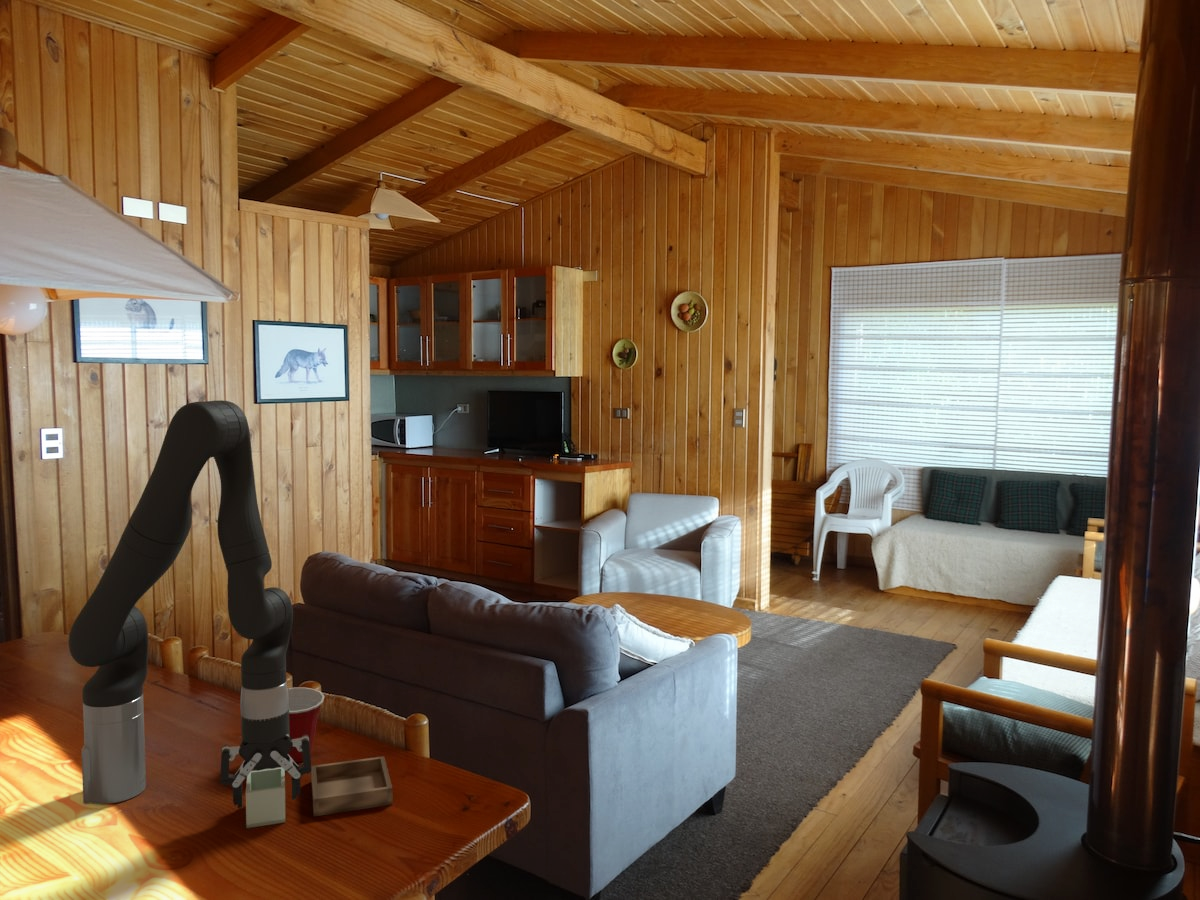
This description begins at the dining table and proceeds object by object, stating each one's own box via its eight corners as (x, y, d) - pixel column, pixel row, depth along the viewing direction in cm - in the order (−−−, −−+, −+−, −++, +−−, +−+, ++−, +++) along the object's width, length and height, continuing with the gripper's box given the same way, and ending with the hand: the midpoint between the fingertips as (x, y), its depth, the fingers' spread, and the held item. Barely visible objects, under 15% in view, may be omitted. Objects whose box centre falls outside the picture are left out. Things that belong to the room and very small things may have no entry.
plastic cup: (280, 775, 161) (279, 712, 160) (256, 756, 168) (255, 696, 167) (335, 757, 168) (334, 697, 167) (309, 740, 176) (308, 682, 175)
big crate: (313, 816, 146) (313, 799, 146) (311, 781, 158) (311, 765, 158) (392, 804, 151) (392, 787, 151) (384, 771, 163) (384, 756, 163)
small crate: (246, 828, 142) (245, 793, 142) (248, 805, 150) (247, 771, 149) (285, 822, 144) (284, 787, 144) (285, 799, 152) (284, 766, 151)
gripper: (217, 723, 139) (220, 819, 141) (310, 711, 144) (312, 805, 146) (220, 706, 146) (223, 798, 148) (309, 695, 151) (311, 785, 153)
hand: (267, 801), depth 147 cm, fingers open, 8 cm apart
